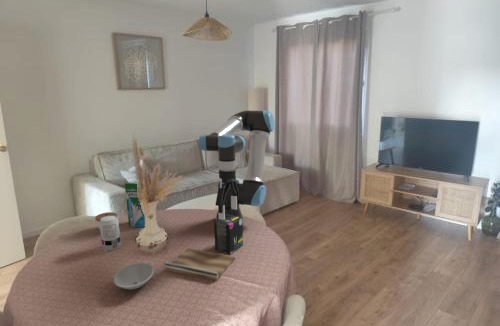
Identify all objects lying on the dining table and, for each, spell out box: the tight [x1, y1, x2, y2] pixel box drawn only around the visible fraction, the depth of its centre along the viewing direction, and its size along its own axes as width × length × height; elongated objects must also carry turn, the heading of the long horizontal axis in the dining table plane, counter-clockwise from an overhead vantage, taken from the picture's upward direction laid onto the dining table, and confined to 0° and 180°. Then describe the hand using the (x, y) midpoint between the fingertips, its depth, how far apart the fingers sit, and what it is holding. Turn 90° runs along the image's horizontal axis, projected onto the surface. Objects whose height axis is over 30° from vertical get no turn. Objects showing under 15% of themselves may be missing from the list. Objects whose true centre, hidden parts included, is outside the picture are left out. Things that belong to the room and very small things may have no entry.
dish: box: [113, 261, 155, 290], centre depth 128 cm, size 18×14×5 cm
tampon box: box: [213, 214, 244, 255], centre depth 156 cm, size 11×9×15 cm
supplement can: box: [99, 215, 122, 252], centre depth 157 cm, size 8×8×15 cm
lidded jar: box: [94, 211, 118, 230], centre depth 179 cm, size 11×11×9 cm
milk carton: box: [124, 180, 145, 228], centre depth 184 cm, size 9×9×25 cm
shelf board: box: [164, 247, 236, 282], centre depth 143 cm, size 18×24×3 cm
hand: (228, 214), depth 154 cm, fingers open, 13 cm apart
